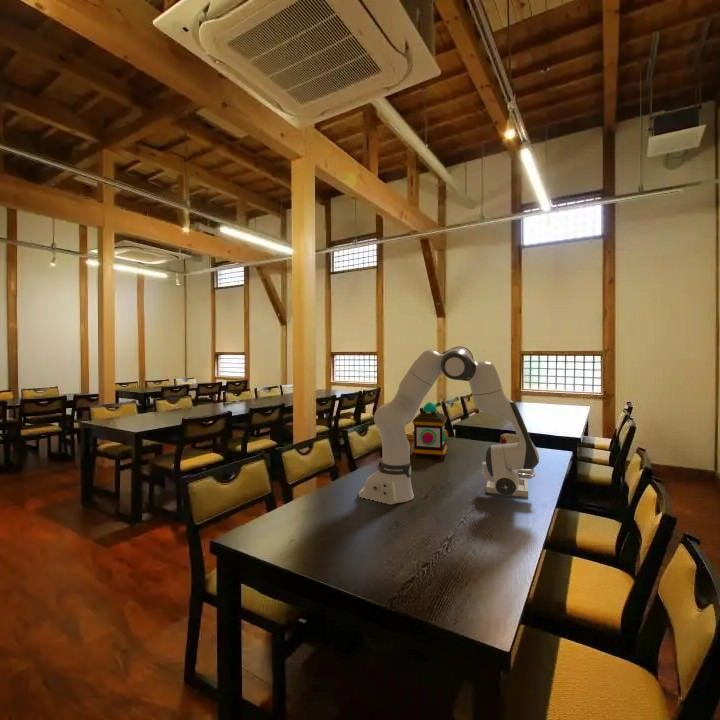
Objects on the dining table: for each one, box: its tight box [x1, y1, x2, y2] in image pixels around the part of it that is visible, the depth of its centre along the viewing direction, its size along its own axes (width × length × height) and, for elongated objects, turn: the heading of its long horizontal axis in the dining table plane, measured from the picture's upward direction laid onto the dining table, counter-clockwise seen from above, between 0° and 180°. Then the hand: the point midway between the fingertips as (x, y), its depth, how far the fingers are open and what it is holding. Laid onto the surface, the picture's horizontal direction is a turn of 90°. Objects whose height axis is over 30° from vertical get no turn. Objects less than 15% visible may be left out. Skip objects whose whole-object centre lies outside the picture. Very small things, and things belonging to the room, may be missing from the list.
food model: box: [499, 432, 519, 444], centre depth 188 cm, size 10×7×20 cm
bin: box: [485, 478, 529, 498], centre depth 172 cm, size 16×16×2 cm
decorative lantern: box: [411, 401, 449, 462], centre depth 224 cm, size 20×20×30 cm
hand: (507, 464), depth 173 cm, fingers closed on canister, 5 cm apart
